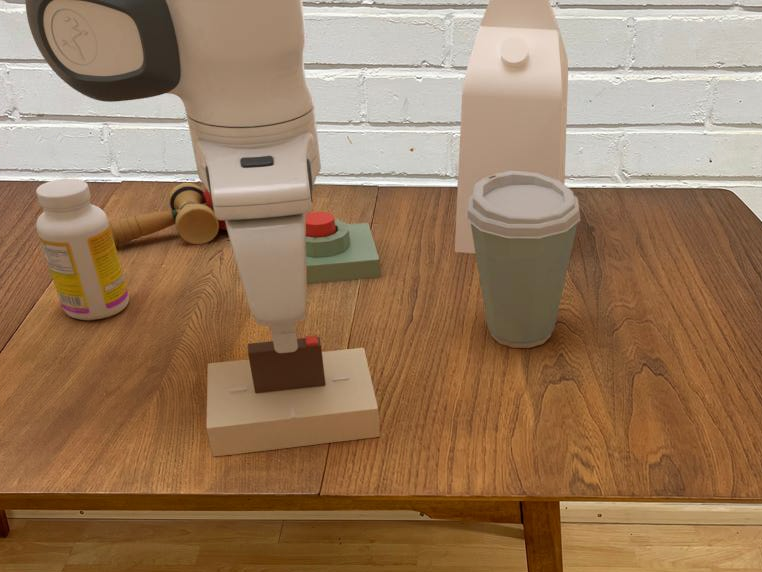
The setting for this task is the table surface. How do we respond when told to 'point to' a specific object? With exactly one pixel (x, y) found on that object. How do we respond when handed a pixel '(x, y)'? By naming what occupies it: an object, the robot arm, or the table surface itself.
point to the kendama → (175, 218)
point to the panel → (290, 407)
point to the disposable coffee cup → (522, 252)
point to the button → (320, 224)
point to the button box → (342, 255)
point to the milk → (512, 101)
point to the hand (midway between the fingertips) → (283, 318)
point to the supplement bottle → (80, 251)
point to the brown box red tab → (287, 366)
